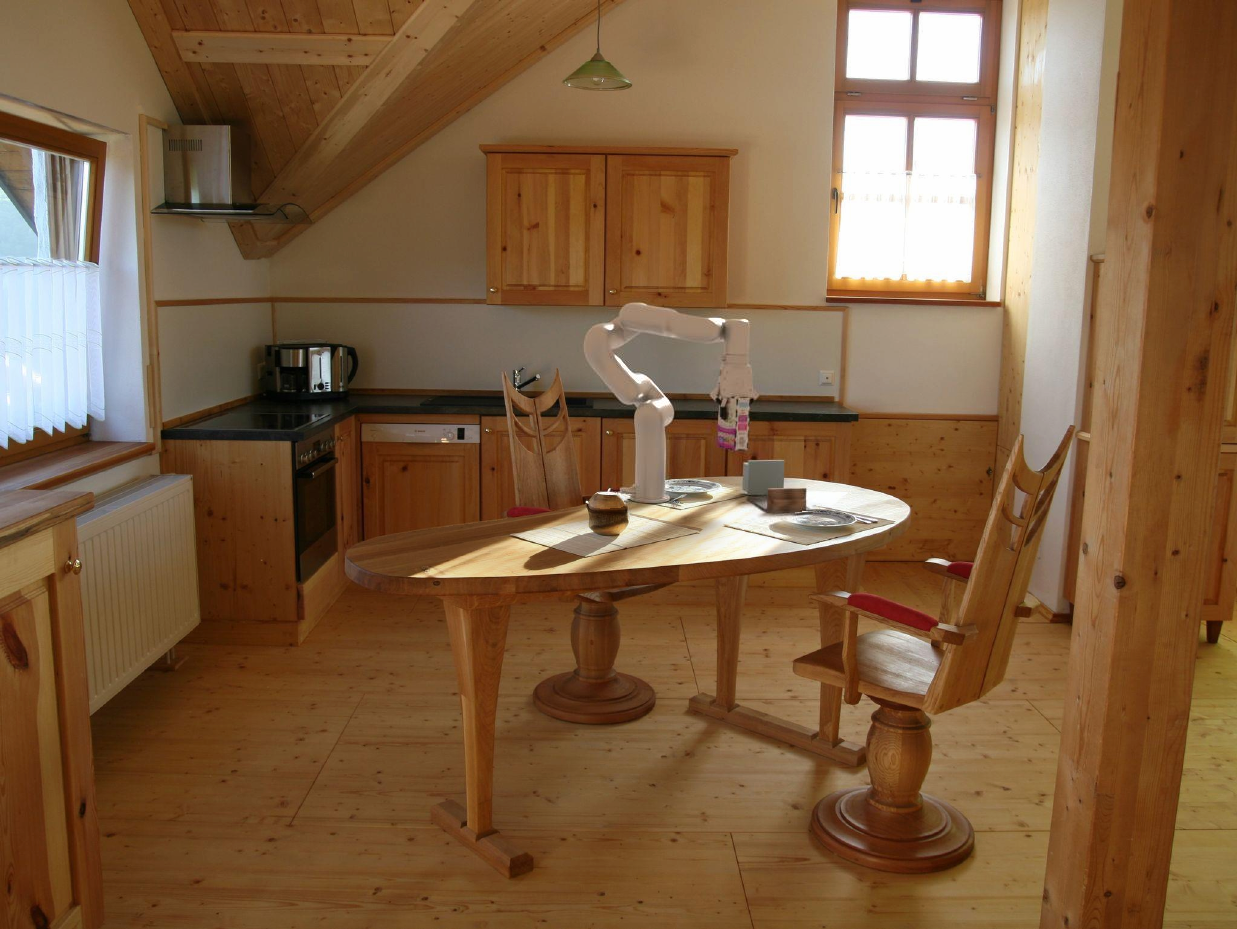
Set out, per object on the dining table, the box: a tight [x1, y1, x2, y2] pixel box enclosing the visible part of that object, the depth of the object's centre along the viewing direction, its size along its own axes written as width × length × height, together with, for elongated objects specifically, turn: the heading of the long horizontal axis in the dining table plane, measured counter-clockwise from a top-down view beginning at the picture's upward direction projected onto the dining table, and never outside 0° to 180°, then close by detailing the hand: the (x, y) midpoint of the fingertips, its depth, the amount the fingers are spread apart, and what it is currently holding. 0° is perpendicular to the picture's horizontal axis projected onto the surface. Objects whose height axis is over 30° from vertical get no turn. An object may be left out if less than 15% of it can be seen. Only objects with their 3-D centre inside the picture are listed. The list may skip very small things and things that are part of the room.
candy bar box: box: [716, 395, 751, 452], centre depth 327 cm, size 11×5×16 cm, turn 25°
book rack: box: [746, 487, 814, 515], centre depth 333 cm, size 14×22×7 cm, turn 11°
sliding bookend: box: [742, 459, 786, 496], centre depth 349 cm, size 12×9×11 cm
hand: (733, 418), depth 327 cm, fingers closed on candy bar box, 5 cm apart
